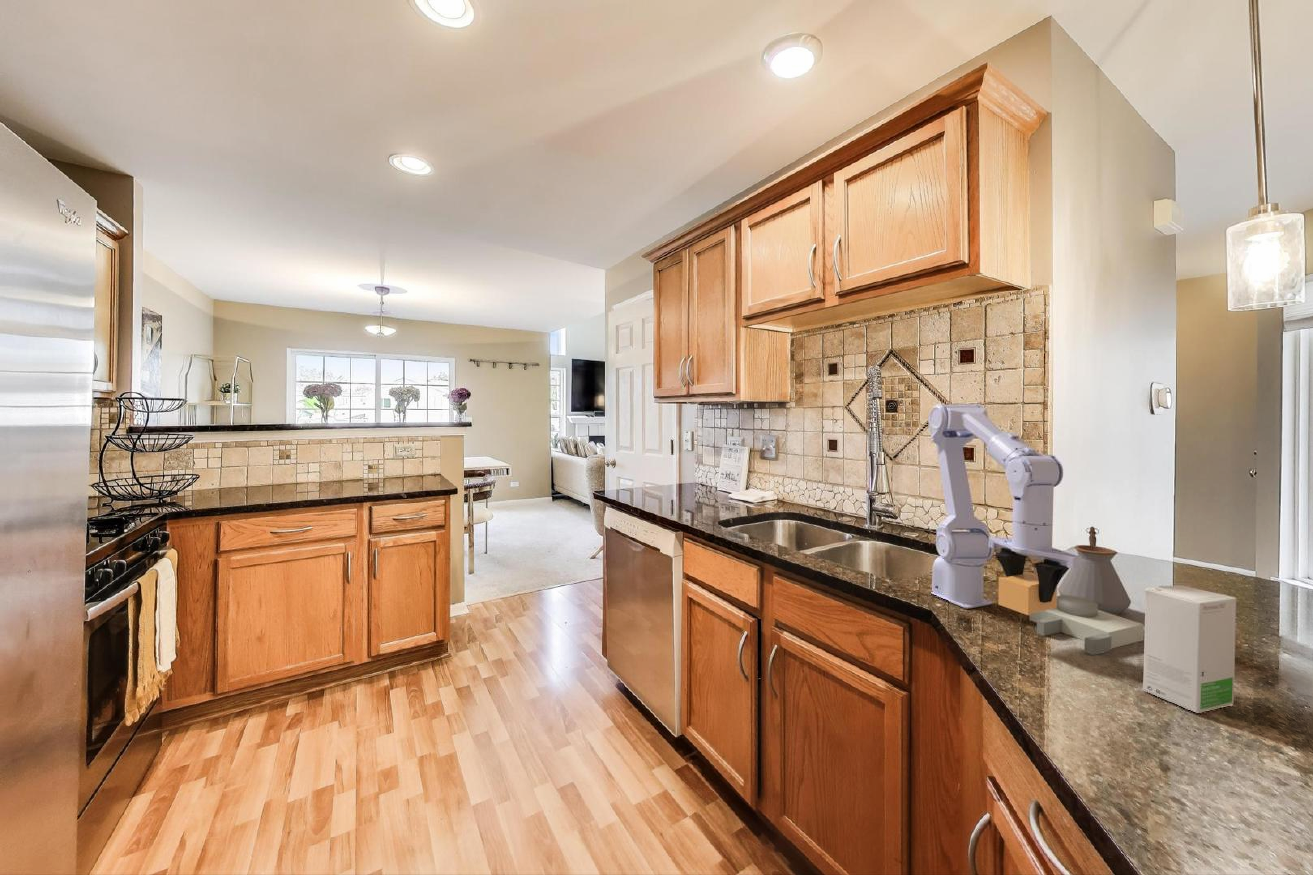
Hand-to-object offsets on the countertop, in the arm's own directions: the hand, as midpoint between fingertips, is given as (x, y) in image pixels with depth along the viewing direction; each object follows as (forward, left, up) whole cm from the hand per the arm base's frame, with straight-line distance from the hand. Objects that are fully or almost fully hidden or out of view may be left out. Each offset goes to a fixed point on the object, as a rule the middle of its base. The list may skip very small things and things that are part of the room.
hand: (1030, 596), depth 87 cm
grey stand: (0, +12, -8) cm, 15 cm away
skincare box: (+20, +3, -9) cm, 22 cm away
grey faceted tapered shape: (-8, +33, -9) cm, 35 cm away
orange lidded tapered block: (0, 0, -2) cm, 2 cm away
